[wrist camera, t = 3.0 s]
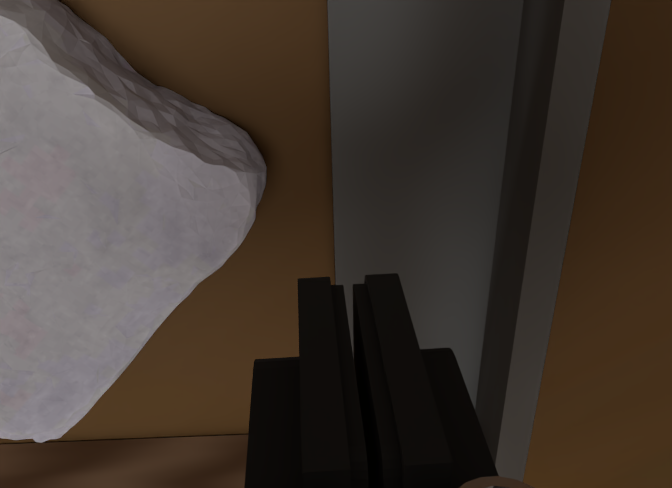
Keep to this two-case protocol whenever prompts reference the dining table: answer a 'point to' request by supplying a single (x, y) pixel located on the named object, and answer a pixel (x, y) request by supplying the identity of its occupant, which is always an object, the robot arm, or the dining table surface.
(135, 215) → the stone block
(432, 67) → the grey rectangular frame
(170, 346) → the dining table surface
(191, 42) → the dining table surface
